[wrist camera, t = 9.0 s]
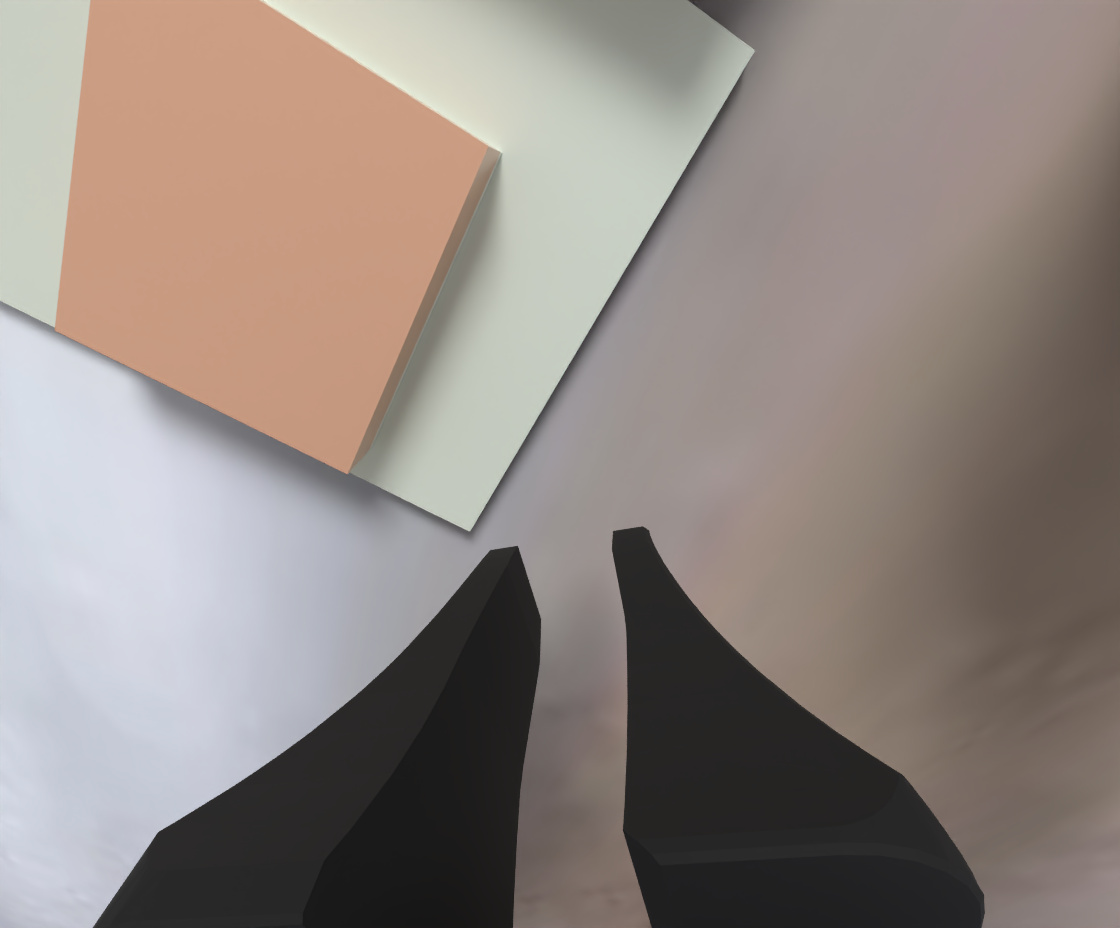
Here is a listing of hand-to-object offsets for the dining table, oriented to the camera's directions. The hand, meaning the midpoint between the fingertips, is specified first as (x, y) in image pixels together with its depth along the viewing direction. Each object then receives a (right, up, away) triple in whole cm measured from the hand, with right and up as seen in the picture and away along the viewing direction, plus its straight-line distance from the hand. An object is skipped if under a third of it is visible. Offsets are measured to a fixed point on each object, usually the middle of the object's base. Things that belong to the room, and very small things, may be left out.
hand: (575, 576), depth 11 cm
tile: (-5, +10, -1) cm, 11 cm away
